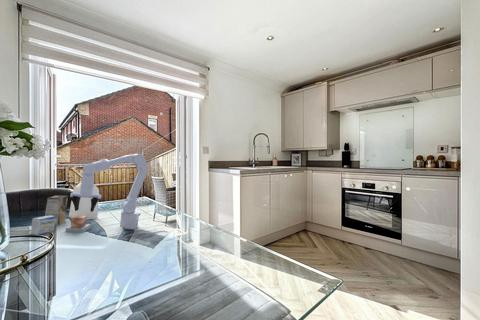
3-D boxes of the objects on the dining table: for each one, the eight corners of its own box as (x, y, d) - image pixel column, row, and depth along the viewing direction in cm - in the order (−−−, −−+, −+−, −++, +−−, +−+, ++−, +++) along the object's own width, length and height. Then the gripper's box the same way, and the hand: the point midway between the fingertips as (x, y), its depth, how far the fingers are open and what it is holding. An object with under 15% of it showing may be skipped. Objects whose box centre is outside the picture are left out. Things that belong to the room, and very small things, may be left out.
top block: (90, 228, 125) (90, 224, 125) (82, 232, 117) (82, 228, 117) (74, 227, 124) (75, 223, 124) (65, 231, 116) (65, 227, 116)
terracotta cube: (85, 225, 123) (86, 215, 124) (81, 227, 119) (82, 218, 119) (75, 224, 122) (76, 215, 122) (70, 227, 117) (71, 217, 118)
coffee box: (52, 223, 130) (55, 194, 131) (65, 223, 132) (68, 195, 132) (43, 227, 122) (46, 197, 122) (57, 228, 123) (60, 198, 123)
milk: (97, 218, 149) (102, 178, 149) (77, 220, 139) (82, 178, 140) (88, 214, 155) (92, 176, 156) (68, 216, 146) (73, 175, 146)
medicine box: (37, 237, 108) (39, 219, 108) (29, 236, 109) (32, 217, 109) (54, 233, 116) (56, 216, 116) (46, 231, 117) (48, 214, 117)
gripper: (68, 185, 120) (65, 211, 120) (98, 187, 122) (95, 213, 122) (75, 184, 127) (72, 208, 126) (103, 186, 129) (101, 210, 129)
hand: (84, 210), depth 125 cm, fingers open, 7 cm apart
